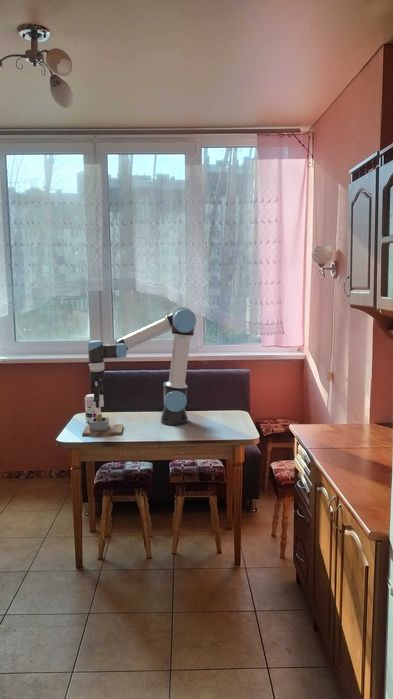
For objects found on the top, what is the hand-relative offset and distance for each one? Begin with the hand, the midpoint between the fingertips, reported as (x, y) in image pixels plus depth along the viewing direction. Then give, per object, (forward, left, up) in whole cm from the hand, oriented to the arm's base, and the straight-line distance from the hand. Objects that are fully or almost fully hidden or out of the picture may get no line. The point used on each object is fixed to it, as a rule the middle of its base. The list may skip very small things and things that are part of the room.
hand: (99, 409), depth 263 cm
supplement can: (+6, -20, -12) cm, 24 cm away
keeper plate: (-2, 0, -12) cm, 12 cm away
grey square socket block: (0, 0, -10) cm, 10 cm away
